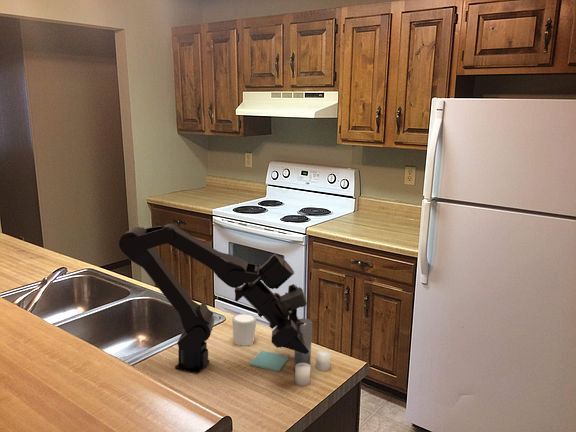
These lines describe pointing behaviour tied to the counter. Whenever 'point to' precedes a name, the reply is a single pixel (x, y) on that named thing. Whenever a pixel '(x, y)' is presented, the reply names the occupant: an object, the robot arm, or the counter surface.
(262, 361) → the teal pad
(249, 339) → the white cylinder
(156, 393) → the counter surface
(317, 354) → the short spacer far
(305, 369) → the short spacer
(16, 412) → the counter surface
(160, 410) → the counter surface
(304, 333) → the dark metallic domed cylinder
